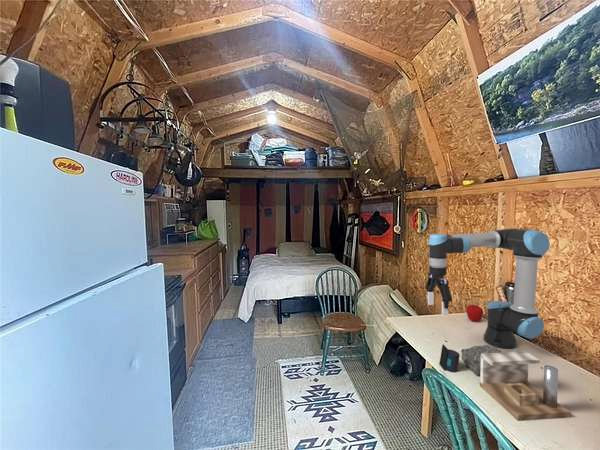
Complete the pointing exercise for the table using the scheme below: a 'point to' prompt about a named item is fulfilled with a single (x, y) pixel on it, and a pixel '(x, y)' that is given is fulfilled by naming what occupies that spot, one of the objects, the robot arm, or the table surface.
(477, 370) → the rock
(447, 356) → the speaker
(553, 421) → the table surface
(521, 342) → the table surface
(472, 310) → the apple
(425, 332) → the table surface
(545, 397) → the peg
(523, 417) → the socket board
